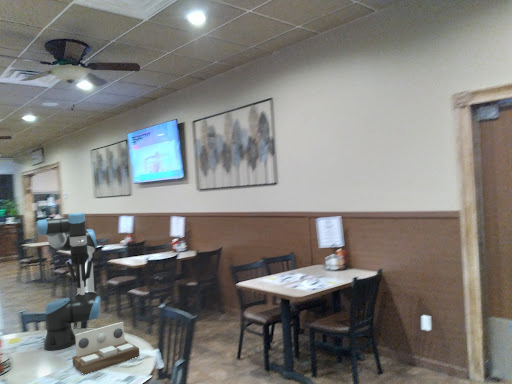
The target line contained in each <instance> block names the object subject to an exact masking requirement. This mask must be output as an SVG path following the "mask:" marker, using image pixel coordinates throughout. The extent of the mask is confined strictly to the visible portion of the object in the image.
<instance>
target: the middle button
mask: <svg viewBox="0 0 512 384" xmlns="http://www.w3.org/2000/svg"><path fill="white" fill-rule="evenodd" d="M115 354H117V348H115V347H113V346H109V347H106V348H103V349H100V350H99V355H100V356H101V357H103V358H105V357H108V356H111V355H115Z"/></svg>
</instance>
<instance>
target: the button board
mask: <svg viewBox="0 0 512 384" xmlns="http://www.w3.org/2000/svg"><path fill="white" fill-rule="evenodd" d="M128 343H129V344H131V345H133V346H134V348H133V349H130V350H127V351H124V352H119V351H118V350H117V354H115V355H111V356H108V357H105V358H103V357H101V356H100V355H99V351H97V352H93V353H90V354H87V355H84V356H80V357H77V355H74V356H72V359H71V360H72V366H73V368H75V369H76V370H77V371H79V373H80V374H82V373H83V374H84V375H83V374H82V375H83V376H86V375H89V374H92V373H95V372H97V371H101V370H104V369H107V368H111V367H112V366H116V365H118V364H121V363H125V362H128V361H131V360H133V359H132V358H134V359H136V358H135V357H137V358H139V357H138V356H140V355H141V354H140V347H138V346H136V345H134V344H132V343H130V342H128V341H126V340H125V343H123V344H120V345H117V346H113V347H115V348H116V347H118V346H122V345H125V344H128ZM92 354H96V355H97V356H99V360H96V361H93V362H89V363H86V364H84V363H83V362H81V358H82V357H86V356H89V355H92ZM130 359H131V360H130ZM127 360H128V361H127ZM91 372H92V373H91ZM88 373H89V374H88ZM85 374H86V375H85Z"/></svg>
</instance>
